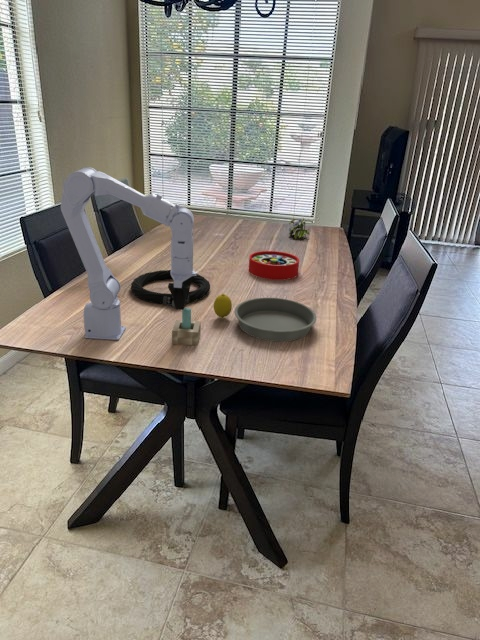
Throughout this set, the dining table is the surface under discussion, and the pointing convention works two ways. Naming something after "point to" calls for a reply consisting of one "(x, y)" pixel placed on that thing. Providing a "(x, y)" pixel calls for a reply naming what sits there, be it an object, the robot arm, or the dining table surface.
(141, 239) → the dining table surface
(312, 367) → the dining table surface
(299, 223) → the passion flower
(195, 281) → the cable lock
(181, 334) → the beige socket block
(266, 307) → the cake pan
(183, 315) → the peg
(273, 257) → the toy clock
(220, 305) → the lemon
